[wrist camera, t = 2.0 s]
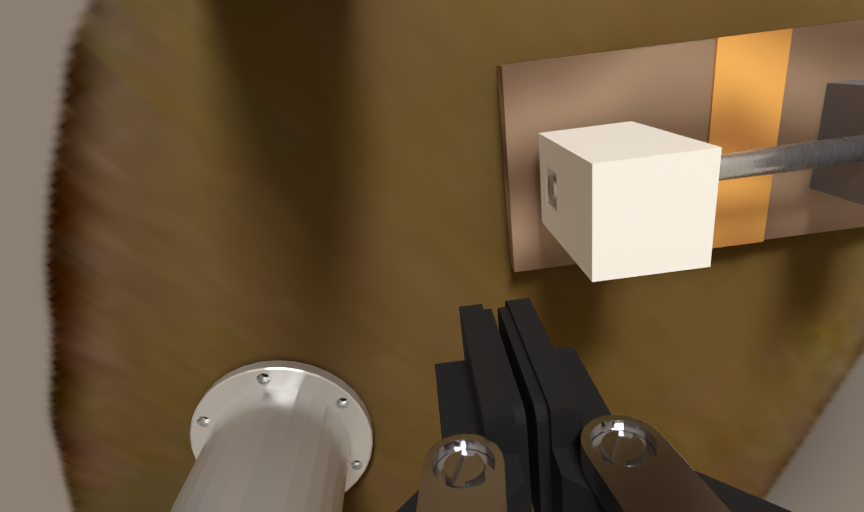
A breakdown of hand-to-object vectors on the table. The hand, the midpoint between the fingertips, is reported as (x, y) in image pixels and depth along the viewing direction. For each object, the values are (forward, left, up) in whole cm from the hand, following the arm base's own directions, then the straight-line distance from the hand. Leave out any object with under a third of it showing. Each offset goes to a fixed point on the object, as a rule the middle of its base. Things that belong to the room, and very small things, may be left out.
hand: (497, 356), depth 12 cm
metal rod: (0, -14, -15) cm, 20 cm away
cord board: (0, -16, -20) cm, 25 cm away
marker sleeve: (0, -8, -17) cm, 18 cm away
